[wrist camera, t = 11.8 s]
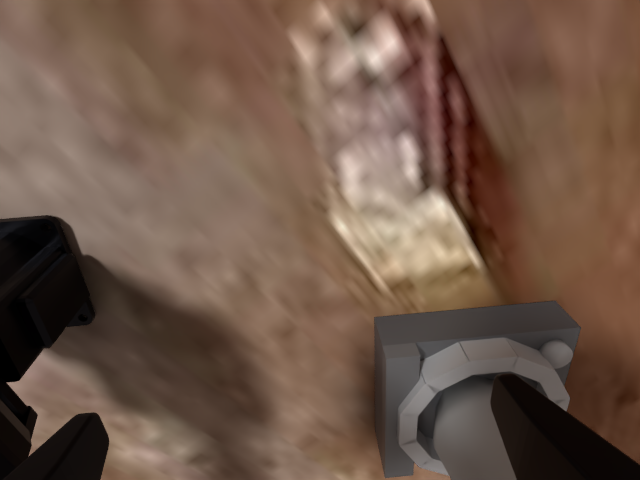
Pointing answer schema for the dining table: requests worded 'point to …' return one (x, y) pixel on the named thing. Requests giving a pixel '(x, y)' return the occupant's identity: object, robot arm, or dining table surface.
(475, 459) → the salt shaker
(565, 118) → the dining table surface
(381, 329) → the ringed square socket
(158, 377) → the dining table surface
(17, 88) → the dining table surface
